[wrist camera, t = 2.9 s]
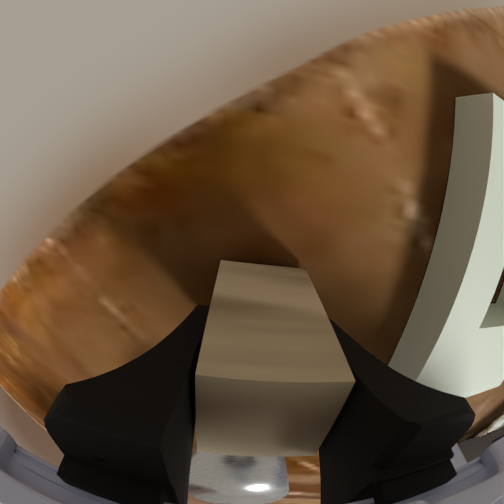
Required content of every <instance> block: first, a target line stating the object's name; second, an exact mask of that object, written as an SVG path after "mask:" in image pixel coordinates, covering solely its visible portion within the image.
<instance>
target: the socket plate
mask: <svg viewBox="0 0 504 504" xmlns="http://www.w3.org/2000/svg"><path fill="white" fill-rule="evenodd" d="M503 268H504V101H503V100H502V99H501V98H499V97H498V96H497V95H495V94H494V93H487V94H478V95H470V96H462V97H456V104H455V125H454V137H453V148H452V156H451V164H450V171H449V177H448V184H447V189H446V195H445V200H444V205H443V210H442V214H441V219H440V223H439V227H438V231H437V235H436V239H435V243H434V246H433V250H432V253H431V257H430V260H429V264H428V267H427V270H426V273H425V276H424V279H423V282H422V285H421V288H420V291H419V294H418V296H417V299H416V302H415V304H414V307H413V310H412V312H411V315H410V317H409V320H408V322H407V325H406V327H405V329H404V332H403V334H402V336H401V339H400V341H399V343H398V345H397V347H396V350H395V352H394V354H393V356H392V358H391V360H390V362H389V364H388V366H389V367H390V368H392V369H394V370H395V371H397V372H399V373H401V374H402V375H404V376H406V377H408V378H410V379H412V380H414V381H416V382H419V383H421V384H423V385H426V386H428V387H431V388H434V389H436V390H439V391H442V392H446V393H449V394H453V395H457V396H461V397H464V398H466V397H469V396H472V395H475V394H478V393H481V392H484V391H487V390H489V389H492V388H495V387H497V386H500V384H501V383H502V381H503V380H504V283H503V286H502V288H501V291H500V294H499V296H498V299H497V301H496V304H490V303H491V300H492V298H493V295H494V293H495V290H496V287H497V285H498V282H499V279H500V276H501V274H502V271H503Z"/></svg>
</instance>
